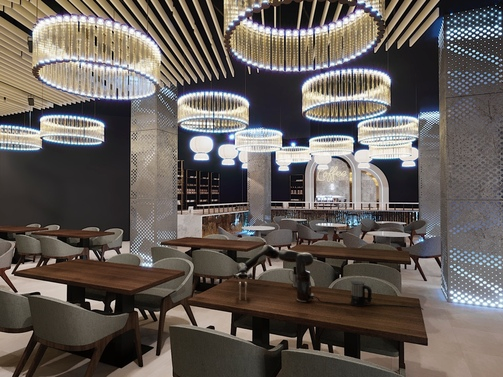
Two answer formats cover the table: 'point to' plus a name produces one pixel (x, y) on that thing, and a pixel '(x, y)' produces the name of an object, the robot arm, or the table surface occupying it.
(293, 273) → the glass holder
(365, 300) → the milk frother
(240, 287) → the toaster bracket
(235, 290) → the table surface
